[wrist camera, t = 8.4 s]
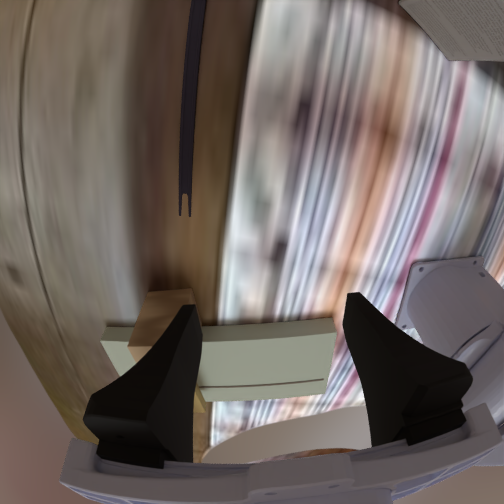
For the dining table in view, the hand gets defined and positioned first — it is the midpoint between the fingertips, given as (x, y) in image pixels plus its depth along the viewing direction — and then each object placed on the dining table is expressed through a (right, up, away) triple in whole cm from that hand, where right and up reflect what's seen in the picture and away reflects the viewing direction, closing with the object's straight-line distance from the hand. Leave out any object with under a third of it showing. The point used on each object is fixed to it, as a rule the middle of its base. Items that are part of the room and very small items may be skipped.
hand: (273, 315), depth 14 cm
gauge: (-7, -6, +14) cm, 17 cm away
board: (-4, -8, +15) cm, 18 cm away
